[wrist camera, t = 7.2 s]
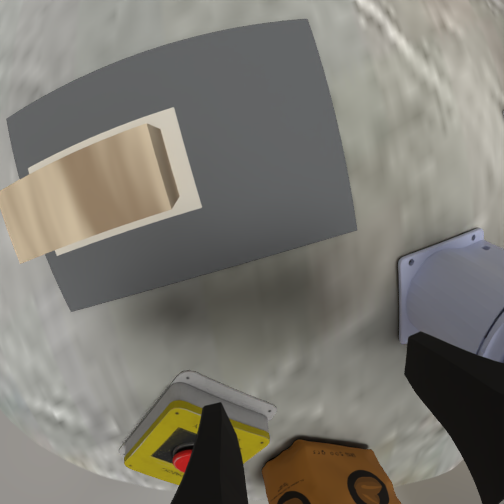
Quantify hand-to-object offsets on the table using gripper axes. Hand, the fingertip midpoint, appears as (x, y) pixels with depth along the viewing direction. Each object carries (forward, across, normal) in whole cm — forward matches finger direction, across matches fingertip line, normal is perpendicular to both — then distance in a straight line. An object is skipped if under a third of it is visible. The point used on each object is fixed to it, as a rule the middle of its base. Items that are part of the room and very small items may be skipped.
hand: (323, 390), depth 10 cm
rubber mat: (+11, +4, -8) cm, 14 cm away
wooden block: (+8, +4, -8) cm, 12 cm away
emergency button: (+11, +10, +14) cm, 20 cm away
